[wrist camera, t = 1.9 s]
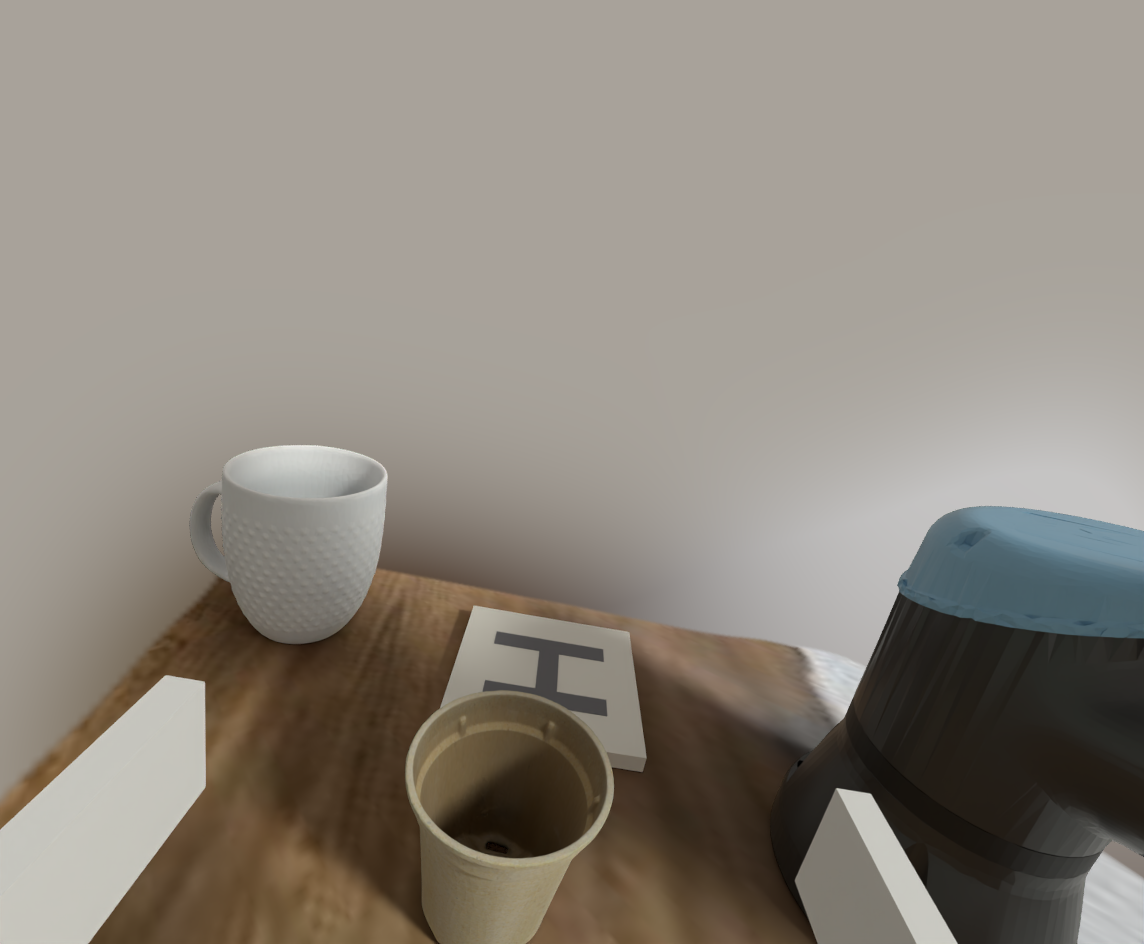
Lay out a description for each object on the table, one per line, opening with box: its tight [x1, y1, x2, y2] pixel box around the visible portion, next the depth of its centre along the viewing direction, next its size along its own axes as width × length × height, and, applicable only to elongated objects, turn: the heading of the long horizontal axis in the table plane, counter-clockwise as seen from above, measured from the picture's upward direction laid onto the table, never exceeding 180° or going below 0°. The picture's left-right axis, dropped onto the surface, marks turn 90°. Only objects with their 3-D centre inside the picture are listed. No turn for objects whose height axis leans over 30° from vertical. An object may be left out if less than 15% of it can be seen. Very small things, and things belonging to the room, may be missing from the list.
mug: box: [190, 445, 388, 644], centre depth 43 cm, size 15×11×13 cm
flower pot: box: [405, 690, 614, 944], centre depth 27 cm, size 9×9×9 cm
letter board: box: [440, 606, 647, 772], centre depth 43 cm, size 14×14×1 cm
